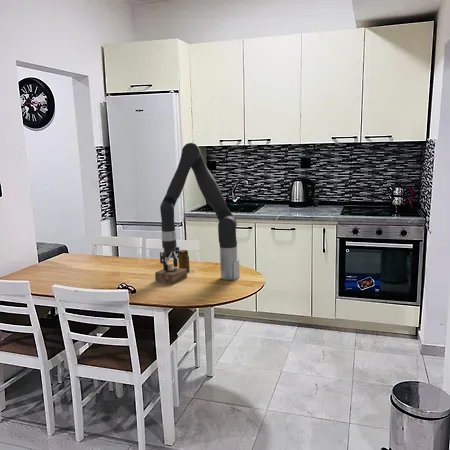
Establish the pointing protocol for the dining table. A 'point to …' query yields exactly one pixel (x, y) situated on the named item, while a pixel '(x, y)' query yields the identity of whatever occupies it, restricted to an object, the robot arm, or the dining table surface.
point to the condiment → (184, 260)
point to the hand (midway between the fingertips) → (170, 268)
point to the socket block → (171, 276)
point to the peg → (170, 268)
